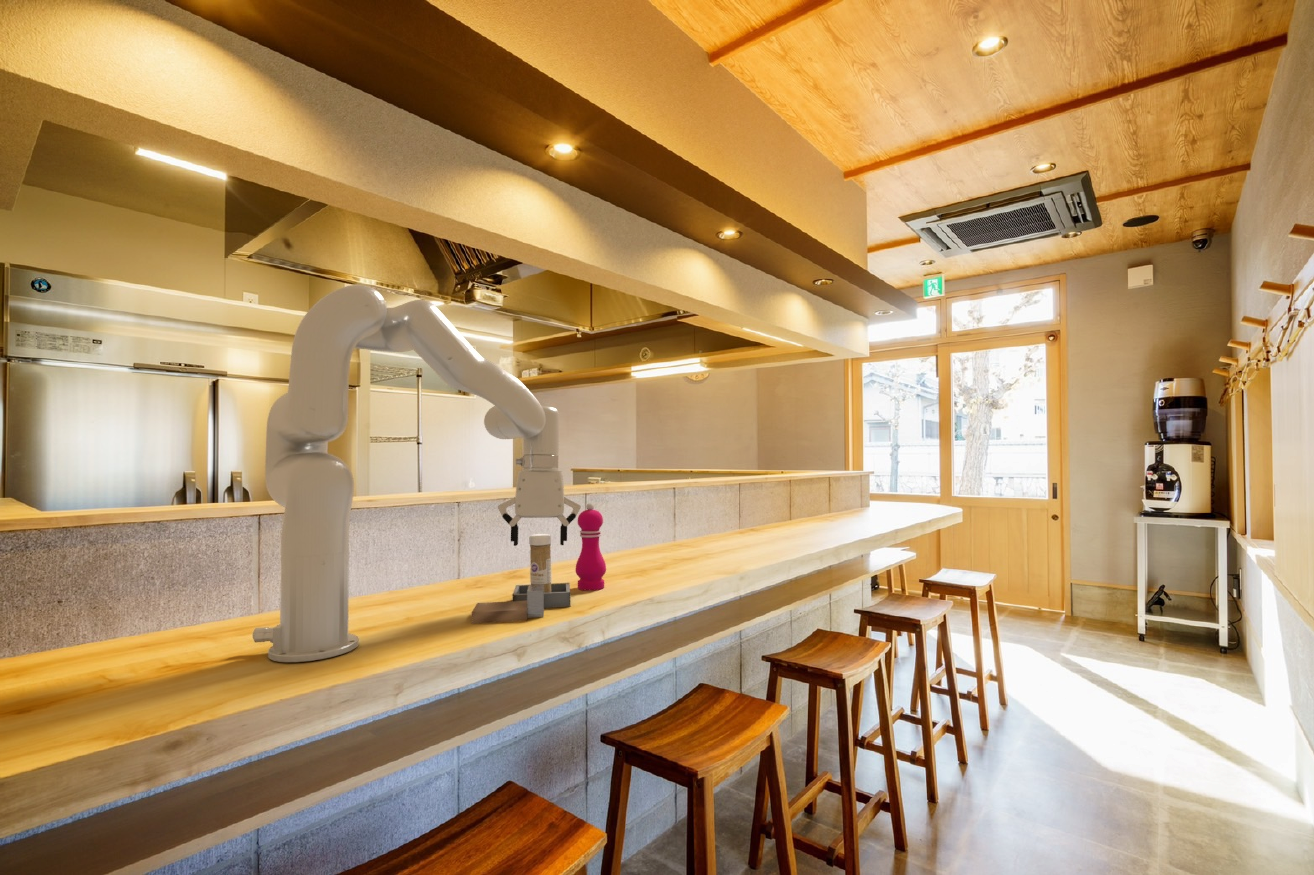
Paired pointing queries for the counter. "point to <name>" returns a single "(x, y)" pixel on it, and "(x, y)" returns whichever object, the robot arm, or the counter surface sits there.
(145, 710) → the counter surface
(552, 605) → the tray
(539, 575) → the sprinkles bottle
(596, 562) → the pepper mill
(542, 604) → the block
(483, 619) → the board
